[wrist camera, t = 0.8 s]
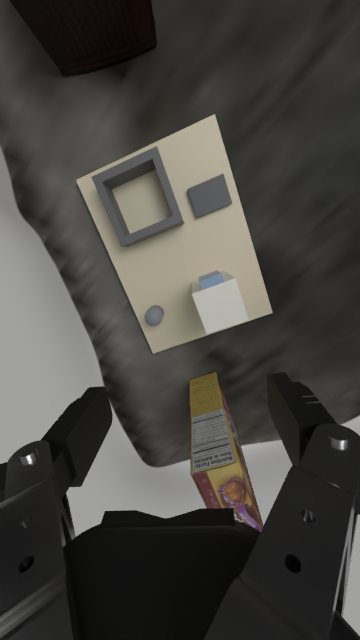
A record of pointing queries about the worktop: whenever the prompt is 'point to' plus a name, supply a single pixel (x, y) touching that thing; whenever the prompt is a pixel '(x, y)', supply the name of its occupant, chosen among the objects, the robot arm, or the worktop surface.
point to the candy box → (219, 453)
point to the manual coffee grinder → (90, 31)
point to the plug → (218, 301)
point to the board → (174, 230)
